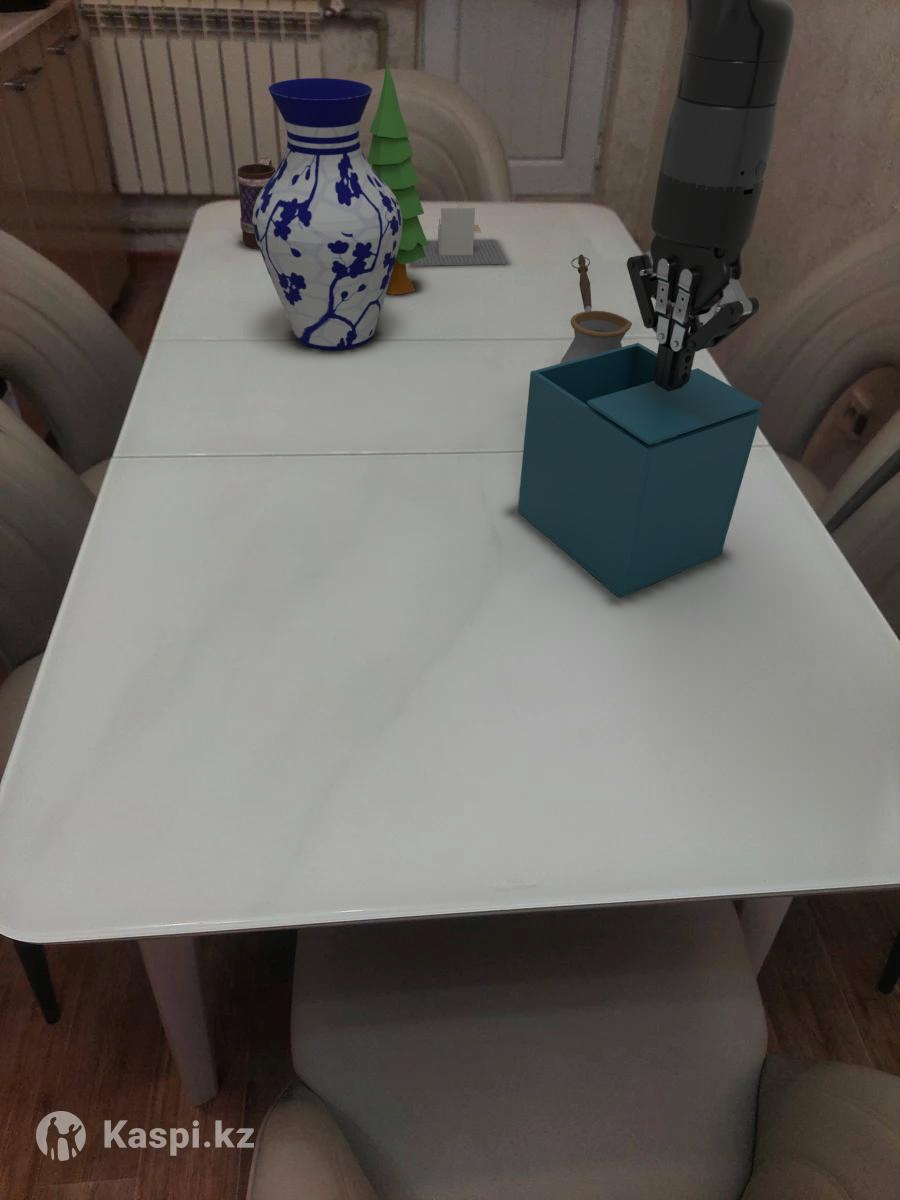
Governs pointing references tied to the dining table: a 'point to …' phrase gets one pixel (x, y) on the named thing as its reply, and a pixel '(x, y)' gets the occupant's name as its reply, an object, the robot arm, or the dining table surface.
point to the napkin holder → (459, 242)
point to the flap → (673, 407)
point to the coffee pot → (593, 324)
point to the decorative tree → (397, 180)
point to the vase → (327, 217)
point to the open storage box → (626, 475)
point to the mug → (252, 195)
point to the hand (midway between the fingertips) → (669, 386)
